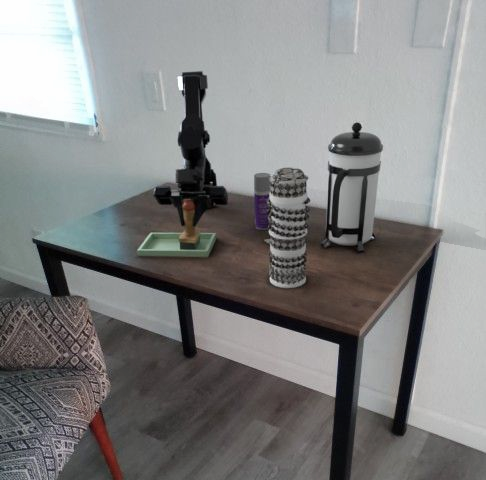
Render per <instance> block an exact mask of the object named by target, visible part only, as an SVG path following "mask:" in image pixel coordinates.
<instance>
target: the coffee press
mask: <svg viewBox="0 0 486 480" xmlns="http://www.w3.org/2000/svg"><path fill="white" fill-rule="evenodd" d="M362 128H363V126H362V124H361V123H360V122H359V121H358V122H354V123H353V124H352V125H351V130H352V131H347V132H343V133H339V134H337V135H335V136H334V137H333V138H332V139H331V141H330V143H329V144H328V146H327V150H328V161H327V173H328V177H327V196H326V215H325V216H326V218H325V236H324V238H323V239H322V240H321V243H320V244H321V246H322V247H323V248H325V249H326V248H328V247H329V246H330V245H331V244H332V243H334V244H337V245H340V246H353V247H354V248H355V251H356V253H357V254H363V253H364V252H365V248H364V244H365V243H367V242H368V241H374V240H375V239H376V236H375V233H374V232H373V231H374V221H375V215H376V214H375V213H376V204H377V194H378V185H379V173H380V171H381V164H382V161H381V155H382V152H383V150H384V145H383V144H382V140H381V139H380V137H379V136H377V135H376V134H374V133H370V132H365V131H361V130H362Z"/></svg>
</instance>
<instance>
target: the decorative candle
mask: <svg viewBox="0 0 486 480" xmlns="http://www.w3.org/2000/svg"><path fill="white" fill-rule="evenodd" d="M269 180H270V193H269V197H268V200H267V201H266V202H267V206H268V207H267V209H268V210H267V212H268V213H269V216H268V228H269V229H268V234H269V236H270V239H271V244H269V251H268V256H269V260H268V262H269V263H270V264H269V266H268V270H269V272H268V273H269V274H268V275H269V282H270V283H271V284H272V285H273V286H274V287H278V288H281V289H294V288H295V289H296V288H298V287H301V286H303V285H304V284H306V281H307V277H306V276H307V268H308V267H307V264H306V263H307V260H308V259H307V255H308V251H307V244H306V235H307V234H308V228H309V224H308V223H307V222H306V221H307V220H308V219H309V218H310V215H309V214H308V213H309V212H310V207H309V206H307V205H308V204H310V202H311V199H310V197H308V191H307V187H308V186H307V181H308V180H309V176H308V175H306V174H305V173H304V171H303V170H302V169H300V168H298V167H282V168H278V169H276V170H275V171H274V173H273V174H272V175H270V178H269ZM270 201H271V203H270ZM270 209H271V211H270Z"/></svg>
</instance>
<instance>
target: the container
mask: <svg viewBox="0 0 486 480" xmlns="http://www.w3.org/2000/svg"><path fill="white" fill-rule="evenodd" d="M270 177H271V174H270V173H268V172H258V173H254V175H253V196H254V225H255V229H256V230H259V231H269V230H270V229H269V228H268V216H269V213H268V212H267V210H268V209H267V207H268V206H267V202H266V201H267V200H268V197H269V193H270V180H269V178H270ZM270 203H271V201H270ZM270 211H271V209H270Z"/></svg>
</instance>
